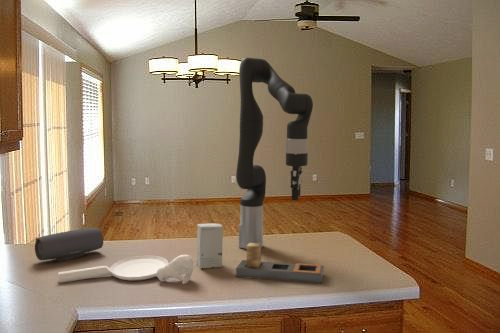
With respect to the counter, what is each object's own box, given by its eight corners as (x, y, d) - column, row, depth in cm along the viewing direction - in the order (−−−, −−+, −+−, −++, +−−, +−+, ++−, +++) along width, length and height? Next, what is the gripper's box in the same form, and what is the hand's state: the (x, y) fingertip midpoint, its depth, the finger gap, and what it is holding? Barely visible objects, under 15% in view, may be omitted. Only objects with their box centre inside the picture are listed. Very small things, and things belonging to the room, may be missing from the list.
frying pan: (59, 298, 142) (57, 284, 141) (59, 275, 159) (58, 262, 158) (174, 279, 154) (173, 266, 153) (163, 259, 171) (162, 247, 171)
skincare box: (199, 269, 163) (199, 227, 162) (196, 264, 169) (196, 223, 167) (223, 267, 166) (223, 225, 164) (219, 262, 171) (219, 222, 170)
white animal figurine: (191, 257, 147) (153, 261, 147) (194, 283, 148) (156, 287, 148) (193, 251, 153) (156, 255, 153) (195, 277, 154) (159, 280, 154)
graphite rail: (236, 276, 155) (236, 267, 155) (242, 268, 164) (242, 259, 164) (321, 283, 149) (321, 273, 149) (323, 274, 158) (323, 264, 158)
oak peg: (246, 275, 157) (246, 245, 156) (249, 271, 161) (249, 242, 160) (258, 276, 156) (258, 246, 155) (260, 272, 160) (260, 243, 159)
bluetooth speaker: (93, 249, 188) (92, 224, 187) (104, 253, 182) (103, 228, 181) (34, 260, 172) (33, 234, 171) (44, 266, 166) (43, 238, 165)
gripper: (288, 150, 170) (287, 194, 172) (283, 153, 157) (282, 201, 158) (309, 150, 169) (308, 195, 171) (306, 153, 155) (305, 202, 157)
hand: (296, 198), depth 164 cm, fingers open, 8 cm apart
